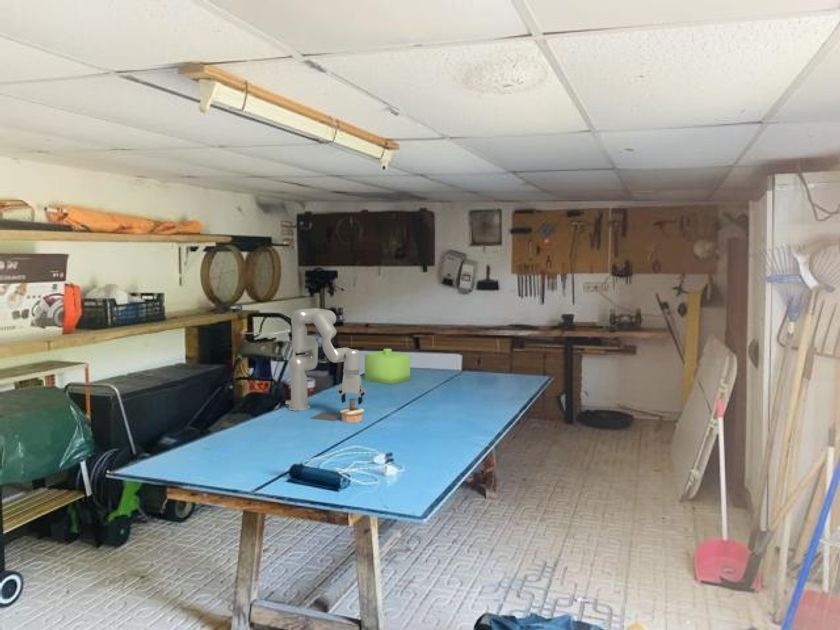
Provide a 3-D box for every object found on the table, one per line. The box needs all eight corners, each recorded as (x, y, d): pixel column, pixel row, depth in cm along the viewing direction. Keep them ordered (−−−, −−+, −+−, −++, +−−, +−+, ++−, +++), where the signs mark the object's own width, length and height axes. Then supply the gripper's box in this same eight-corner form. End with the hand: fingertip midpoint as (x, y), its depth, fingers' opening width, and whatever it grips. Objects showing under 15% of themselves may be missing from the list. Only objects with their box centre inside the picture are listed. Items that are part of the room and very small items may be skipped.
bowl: (340, 423, 355) (340, 414, 354) (344, 418, 365) (344, 409, 365) (360, 424, 354) (360, 414, 354) (363, 419, 365) (363, 410, 364)
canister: (410, 380, 476) (410, 349, 474) (390, 385, 459) (390, 352, 457) (384, 376, 491) (384, 345, 489) (364, 380, 475) (364, 348, 473)
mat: (309, 419, 362) (309, 418, 362) (321, 413, 376) (321, 412, 376) (334, 422, 357) (334, 421, 357) (345, 415, 371) (345, 414, 371)
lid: (336, 413, 356) (336, 400, 355) (346, 408, 368) (346, 395, 367) (357, 415, 351) (357, 402, 351) (367, 410, 363) (367, 398, 363)
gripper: (334, 372, 356) (334, 403, 358) (364, 374, 351) (363, 406, 353) (340, 369, 363) (340, 400, 365) (369, 372, 358) (368, 403, 360)
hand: (351, 403), depth 359 cm, fingers open, 9 cm apart
